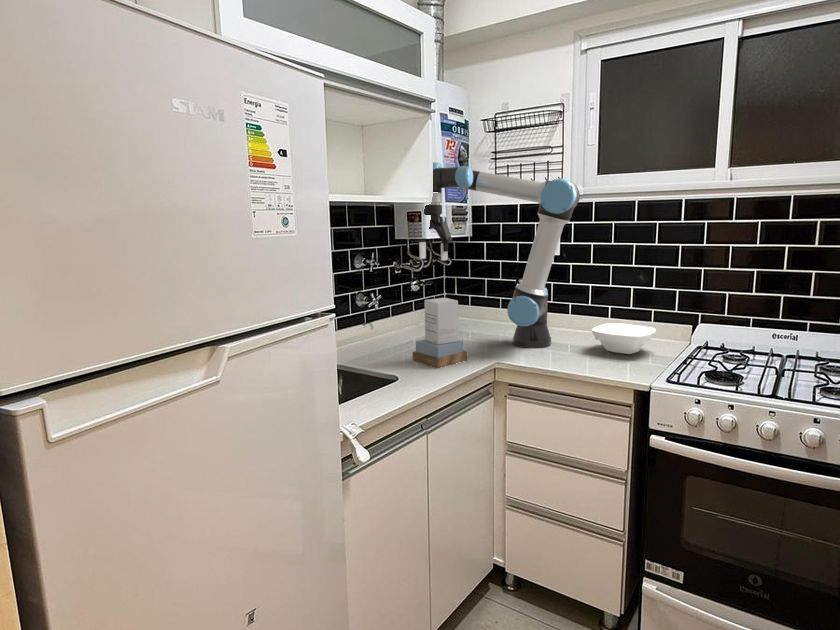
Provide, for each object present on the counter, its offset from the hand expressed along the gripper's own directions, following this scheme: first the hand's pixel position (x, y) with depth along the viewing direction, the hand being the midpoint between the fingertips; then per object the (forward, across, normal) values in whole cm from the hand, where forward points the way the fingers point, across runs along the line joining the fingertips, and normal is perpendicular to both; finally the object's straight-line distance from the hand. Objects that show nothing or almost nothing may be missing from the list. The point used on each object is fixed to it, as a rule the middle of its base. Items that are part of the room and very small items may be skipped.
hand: (433, 259), depth 210 cm
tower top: (+31, +20, -14) cm, 40 cm away
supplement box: (+28, +20, -13) cm, 37 cm away
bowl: (+35, +56, +45) cm, 80 cm away
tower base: (+35, +20, -14) cm, 43 cm away
